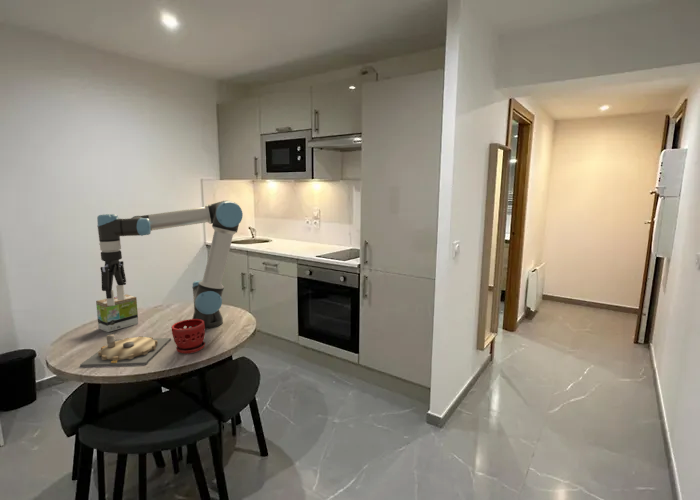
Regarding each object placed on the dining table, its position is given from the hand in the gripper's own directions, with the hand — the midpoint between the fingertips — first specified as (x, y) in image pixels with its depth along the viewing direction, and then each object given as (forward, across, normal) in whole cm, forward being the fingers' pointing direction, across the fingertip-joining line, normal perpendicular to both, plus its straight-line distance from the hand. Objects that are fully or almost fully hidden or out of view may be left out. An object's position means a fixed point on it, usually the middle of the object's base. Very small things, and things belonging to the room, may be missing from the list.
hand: (116, 302), depth 166 cm
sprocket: (+19, +7, +7) cm, 21 cm away
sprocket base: (+20, +7, +7) cm, 22 cm away
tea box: (+20, -26, -14) cm, 36 cm away
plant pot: (+20, +6, +32) cm, 39 cm away
